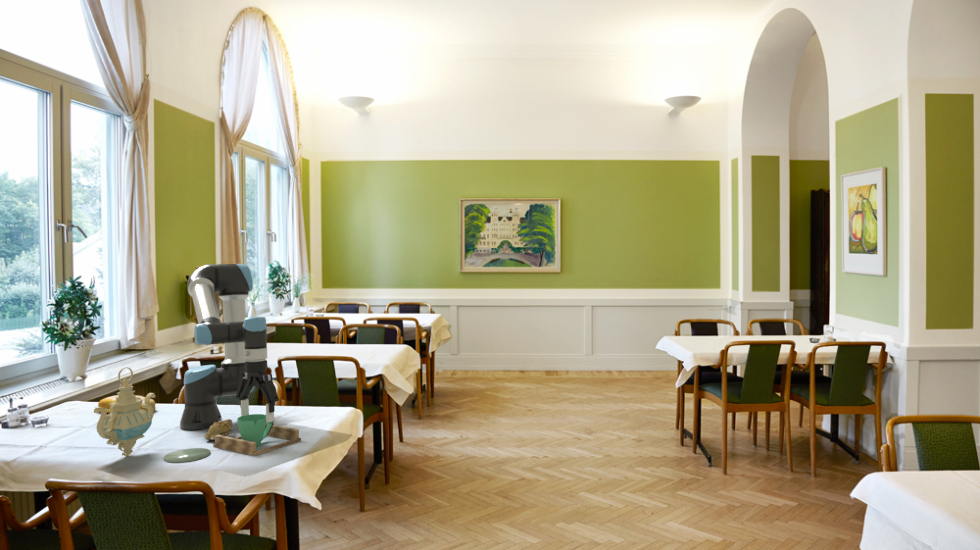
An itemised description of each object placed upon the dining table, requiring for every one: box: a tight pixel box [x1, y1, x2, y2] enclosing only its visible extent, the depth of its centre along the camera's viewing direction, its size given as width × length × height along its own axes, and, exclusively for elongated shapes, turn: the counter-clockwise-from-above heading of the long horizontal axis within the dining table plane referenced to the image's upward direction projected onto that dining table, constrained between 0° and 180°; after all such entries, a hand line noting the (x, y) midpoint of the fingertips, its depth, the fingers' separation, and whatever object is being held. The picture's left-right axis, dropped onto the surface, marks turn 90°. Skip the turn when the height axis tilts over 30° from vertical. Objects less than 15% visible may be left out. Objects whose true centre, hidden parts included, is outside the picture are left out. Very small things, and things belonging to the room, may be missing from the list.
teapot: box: [93, 367, 156, 457], centre depth 206 cm, size 24×12×30 cm, turn 167°
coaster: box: [163, 447, 211, 464], centre depth 205 cm, size 14×14×1 cm
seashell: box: [204, 418, 233, 441], centre depth 227 cm, size 9×8×10 cm
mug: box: [236, 413, 275, 448], centre depth 219 cm, size 15×10×10 cm
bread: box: [97, 394, 157, 415], centre depth 268 cm, size 13×26×8 cm, turn 73°
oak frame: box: [213, 423, 302, 457], centre depth 219 cm, size 22×20×4 cm
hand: (257, 419), depth 218 cm, fingers open, 13 cm apart
